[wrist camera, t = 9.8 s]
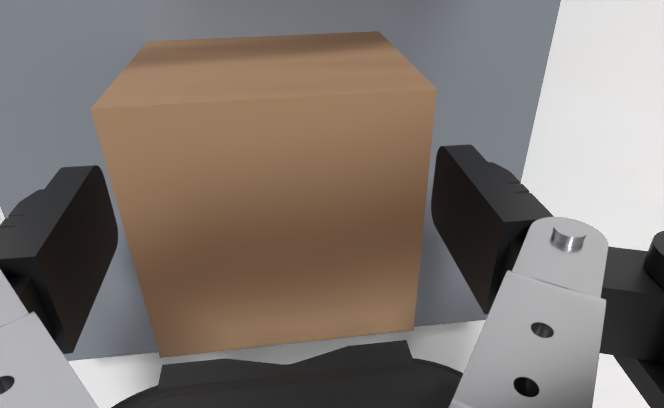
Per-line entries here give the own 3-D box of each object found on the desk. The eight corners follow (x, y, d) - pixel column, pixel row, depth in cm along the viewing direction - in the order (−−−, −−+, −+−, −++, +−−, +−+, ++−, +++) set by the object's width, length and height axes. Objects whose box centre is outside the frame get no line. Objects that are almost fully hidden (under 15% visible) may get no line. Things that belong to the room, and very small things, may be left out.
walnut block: (147, 41, 12) (90, 108, 8) (378, 31, 13) (436, 88, 9) (186, 235, 16) (159, 357, 11) (372, 220, 16) (413, 330, 12)
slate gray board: (-108, -199, 11) (-174, -220, 9) (559, -187, 13) (605, -202, 11) (80, 321, 19) (63, 361, 18) (471, 286, 21) (490, 318, 19)
